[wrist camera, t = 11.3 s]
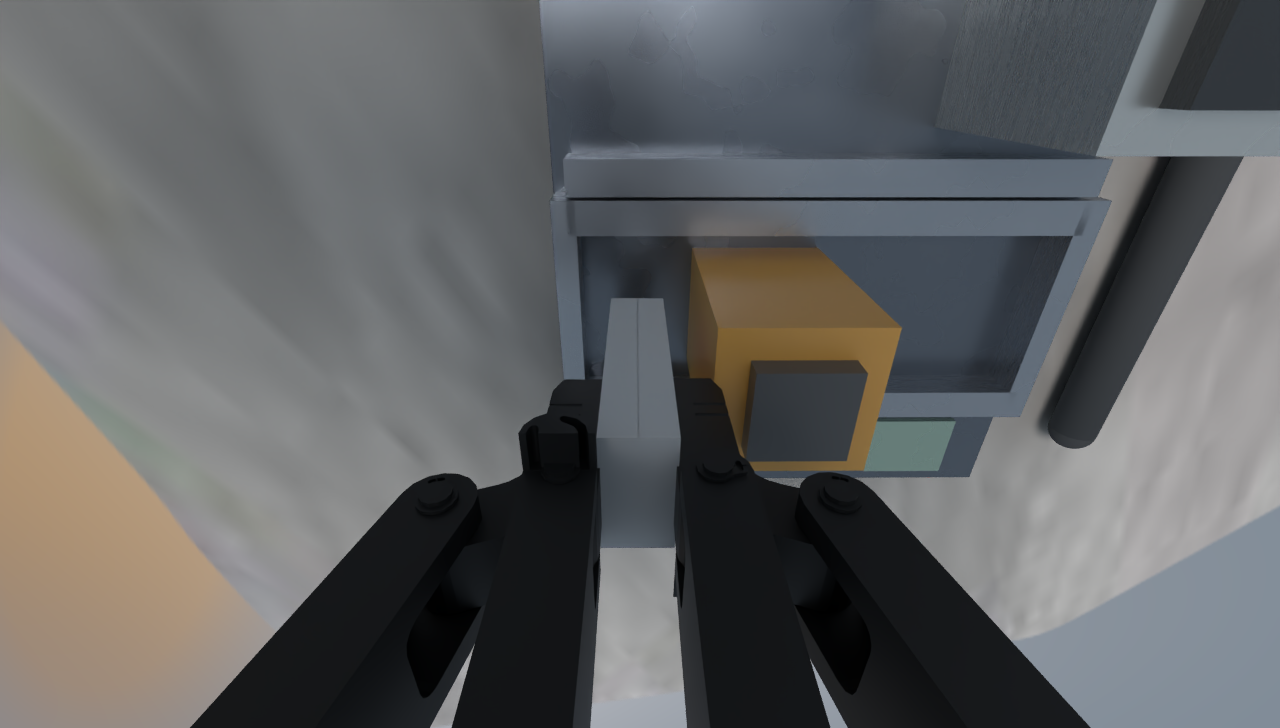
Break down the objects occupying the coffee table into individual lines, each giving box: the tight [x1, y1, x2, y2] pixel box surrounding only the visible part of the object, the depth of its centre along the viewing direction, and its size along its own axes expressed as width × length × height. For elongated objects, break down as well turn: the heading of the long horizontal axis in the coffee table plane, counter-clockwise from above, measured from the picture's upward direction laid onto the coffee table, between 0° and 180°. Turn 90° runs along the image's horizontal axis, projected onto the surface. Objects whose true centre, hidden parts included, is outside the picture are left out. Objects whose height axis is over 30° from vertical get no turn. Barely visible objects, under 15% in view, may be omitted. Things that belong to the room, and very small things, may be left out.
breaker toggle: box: [687, 248, 902, 471], centre depth 15 cm, size 4×4×7 cm
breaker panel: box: [539, 0, 1280, 478], centre depth 15 cm, size 19×16×9 cm
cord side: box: [1048, 156, 1244, 449], centre depth 18 cm, size 18×2×2 cm, turn 0°
